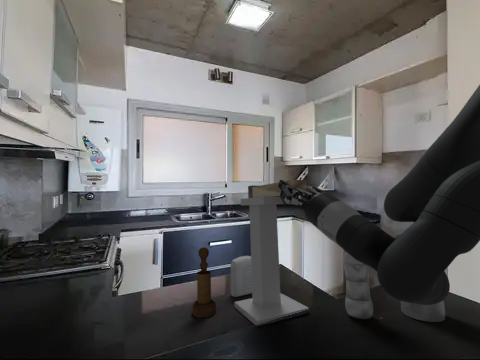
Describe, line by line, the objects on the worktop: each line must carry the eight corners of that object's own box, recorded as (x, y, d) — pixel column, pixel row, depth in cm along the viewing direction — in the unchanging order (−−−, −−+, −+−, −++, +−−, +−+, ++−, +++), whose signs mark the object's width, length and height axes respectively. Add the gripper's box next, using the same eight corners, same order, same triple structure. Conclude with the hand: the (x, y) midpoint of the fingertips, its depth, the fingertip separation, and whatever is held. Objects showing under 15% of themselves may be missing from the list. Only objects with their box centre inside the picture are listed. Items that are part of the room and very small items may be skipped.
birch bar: (260, 198, 81) (259, 186, 81) (307, 194, 60) (306, 177, 61) (248, 198, 79) (247, 186, 79) (293, 194, 58) (292, 177, 59)
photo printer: (253, 288, 89) (252, 253, 90) (260, 291, 86) (259, 255, 87) (229, 295, 83) (228, 257, 85) (235, 298, 80) (234, 259, 81)
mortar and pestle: (205, 319, 65) (204, 250, 67) (187, 314, 69) (187, 248, 71) (220, 310, 71) (219, 246, 73) (203, 306, 74) (202, 245, 76)
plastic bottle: (351, 309, 69) (345, 236, 71) (377, 316, 64) (371, 238, 66) (341, 317, 65) (336, 239, 67) (369, 325, 60) (362, 241, 62)
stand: (279, 297, 80) (275, 198, 83) (309, 313, 67) (302, 196, 71) (234, 307, 73) (231, 199, 76) (258, 327, 60) (253, 196, 64)
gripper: (364, 201, 52) (312, 170, 66) (311, 202, 45) (267, 168, 60) (352, 231, 54) (304, 195, 68) (300, 236, 48) (260, 196, 62)
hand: (287, 183), depth 64 cm, fingers closed on birch bar, 4 cm apart
